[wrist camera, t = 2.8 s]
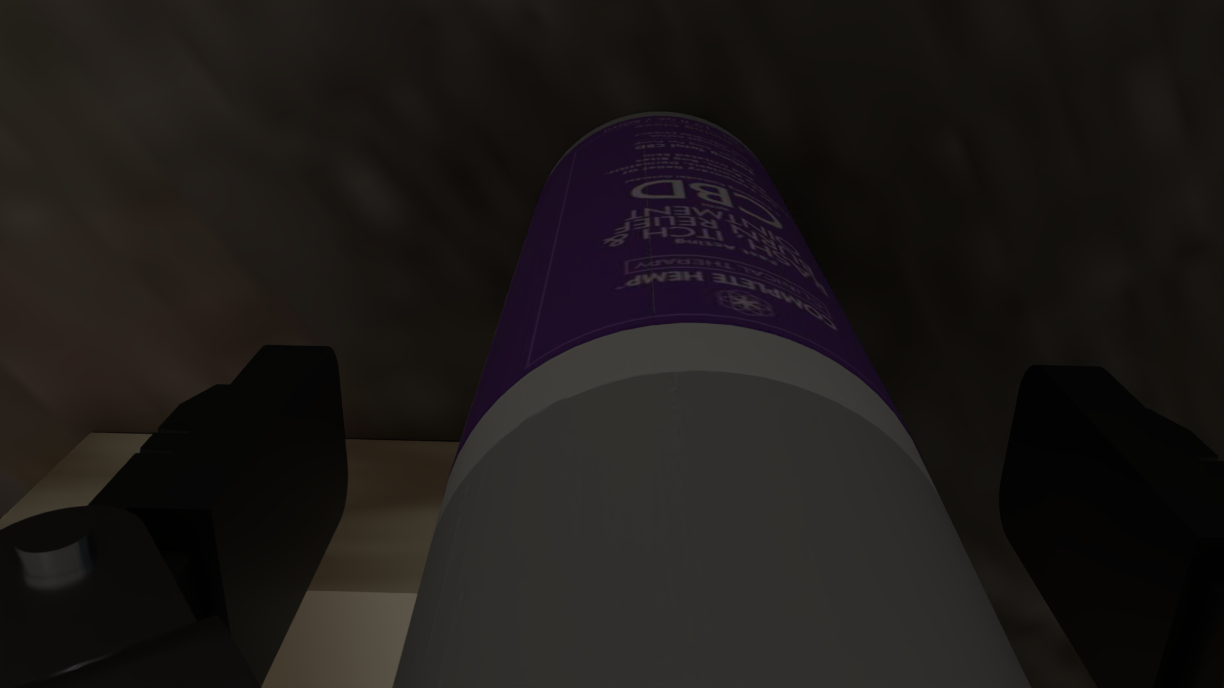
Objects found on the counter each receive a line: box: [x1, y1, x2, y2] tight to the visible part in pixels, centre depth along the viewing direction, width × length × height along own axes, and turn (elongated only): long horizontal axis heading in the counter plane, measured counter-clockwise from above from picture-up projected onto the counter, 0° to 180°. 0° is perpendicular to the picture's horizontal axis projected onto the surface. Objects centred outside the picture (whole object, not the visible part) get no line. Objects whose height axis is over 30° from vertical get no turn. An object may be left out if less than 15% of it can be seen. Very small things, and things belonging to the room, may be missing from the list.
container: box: [392, 111, 1031, 688], centre depth 12 cm, size 5×5×15 cm
